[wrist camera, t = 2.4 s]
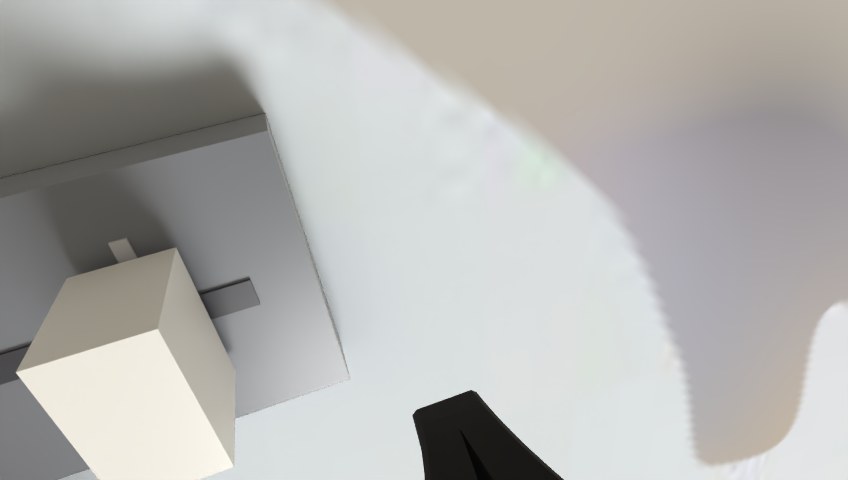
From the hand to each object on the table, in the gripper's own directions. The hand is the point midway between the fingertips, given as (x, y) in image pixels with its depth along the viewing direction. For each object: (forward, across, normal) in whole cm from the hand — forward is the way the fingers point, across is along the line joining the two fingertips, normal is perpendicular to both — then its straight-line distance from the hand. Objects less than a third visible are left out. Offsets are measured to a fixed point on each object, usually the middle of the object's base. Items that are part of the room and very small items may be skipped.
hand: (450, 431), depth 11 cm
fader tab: (+7, +7, 0) cm, 10 cm away
